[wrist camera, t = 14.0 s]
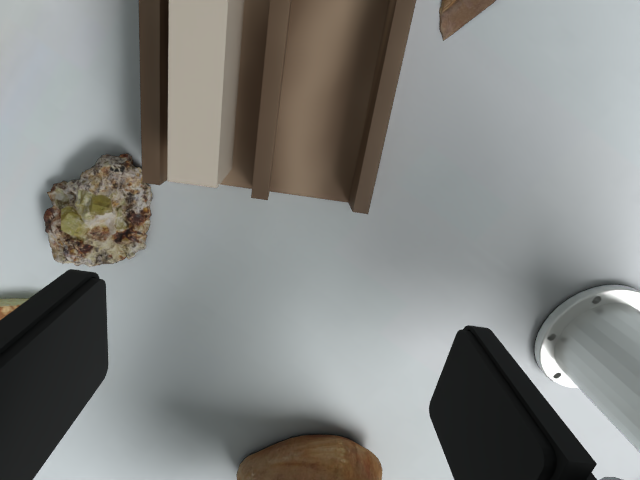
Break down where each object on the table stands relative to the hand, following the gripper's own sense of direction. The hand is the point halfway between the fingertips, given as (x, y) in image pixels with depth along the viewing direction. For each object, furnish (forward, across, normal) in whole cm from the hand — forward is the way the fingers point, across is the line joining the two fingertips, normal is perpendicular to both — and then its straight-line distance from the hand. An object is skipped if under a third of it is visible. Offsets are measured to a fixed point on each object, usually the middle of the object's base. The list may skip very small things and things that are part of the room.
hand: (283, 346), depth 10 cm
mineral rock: (+22, +15, +6) cm, 27 cm away
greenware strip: (+20, +7, -6) cm, 22 cm away
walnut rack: (+22, +3, -8) cm, 23 cm away
